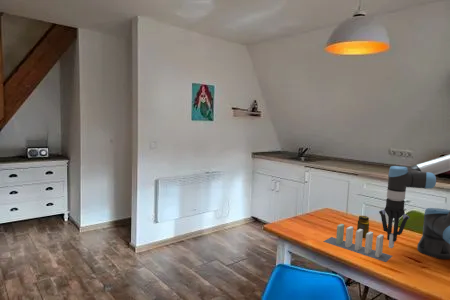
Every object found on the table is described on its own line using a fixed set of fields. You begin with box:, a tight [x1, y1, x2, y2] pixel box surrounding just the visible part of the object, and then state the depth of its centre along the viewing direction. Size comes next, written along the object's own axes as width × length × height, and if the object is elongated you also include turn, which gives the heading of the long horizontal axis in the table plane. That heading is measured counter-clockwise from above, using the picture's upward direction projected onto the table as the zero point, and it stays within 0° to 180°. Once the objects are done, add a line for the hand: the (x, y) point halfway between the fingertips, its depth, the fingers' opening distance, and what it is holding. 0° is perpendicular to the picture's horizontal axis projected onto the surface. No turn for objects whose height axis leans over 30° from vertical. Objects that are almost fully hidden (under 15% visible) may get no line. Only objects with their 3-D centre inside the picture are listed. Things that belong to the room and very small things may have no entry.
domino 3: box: [354, 229, 364, 251], centre depth 158 cm, size 2×5×10 cm, turn 135°
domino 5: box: [374, 233, 384, 257], centre depth 151 cm, size 2×5×10 cm, turn 135°
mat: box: [322, 236, 393, 263], centre depth 159 cm, size 32×10×1 cm, turn 45°
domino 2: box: [344, 225, 354, 248], centre depth 162 cm, size 2×5×10 cm, turn 135°
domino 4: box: [364, 231, 374, 254], centre depth 155 cm, size 2×5×10 cm, turn 135°
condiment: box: [356, 215, 370, 239], centre depth 176 cm, size 7×8×12 cm
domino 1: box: [335, 223, 345, 245], centre depth 165 cm, size 2×5×10 cm, turn 135°
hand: (391, 247), depth 147 cm, fingers closed
